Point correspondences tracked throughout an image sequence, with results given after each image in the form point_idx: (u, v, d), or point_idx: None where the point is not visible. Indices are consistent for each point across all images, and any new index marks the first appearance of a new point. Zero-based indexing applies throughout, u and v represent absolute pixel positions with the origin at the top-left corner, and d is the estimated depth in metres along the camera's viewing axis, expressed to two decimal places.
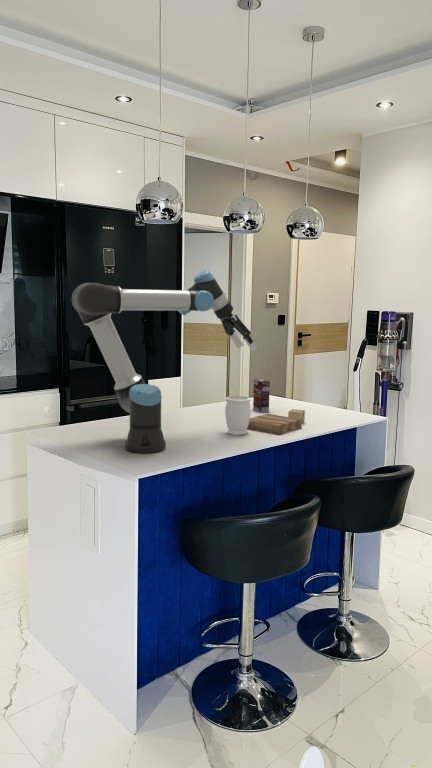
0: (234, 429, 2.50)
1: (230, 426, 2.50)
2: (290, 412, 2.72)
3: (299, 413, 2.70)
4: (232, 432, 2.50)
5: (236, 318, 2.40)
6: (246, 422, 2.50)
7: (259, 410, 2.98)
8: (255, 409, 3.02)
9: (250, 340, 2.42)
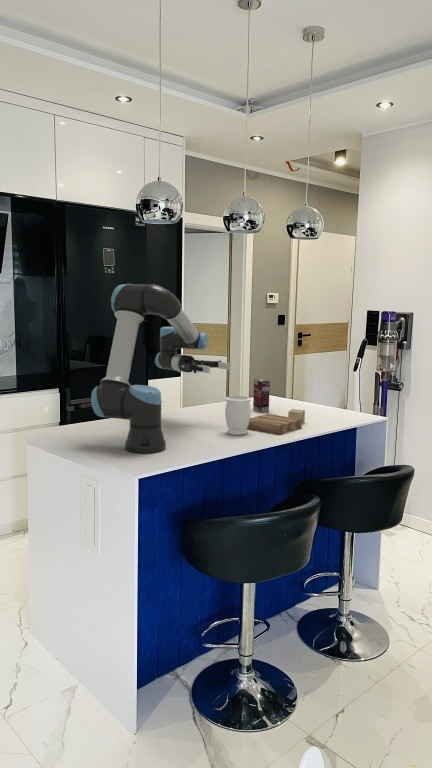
0: (234, 429, 2.50)
1: (230, 426, 2.50)
2: (290, 412, 2.72)
3: (299, 413, 2.70)
4: (232, 432, 2.50)
5: None
6: (246, 422, 2.50)
7: (259, 410, 2.98)
8: (255, 409, 3.02)
9: None
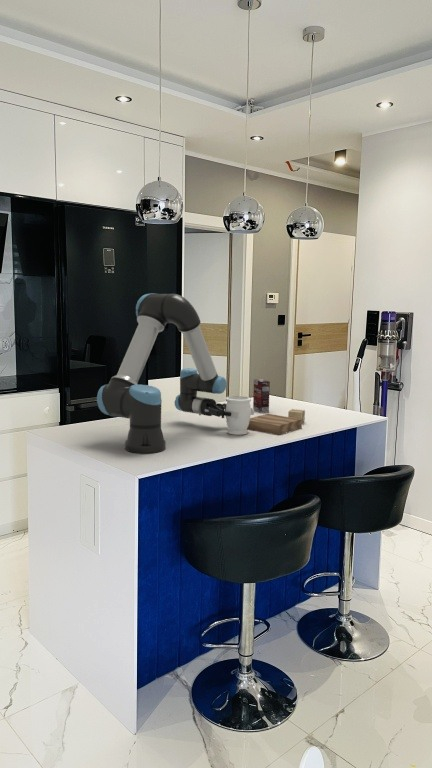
0: (234, 429, 2.50)
1: (230, 426, 2.50)
2: (290, 412, 2.72)
3: (299, 413, 2.70)
4: (232, 432, 2.50)
5: None
6: (246, 422, 2.50)
7: (259, 410, 2.98)
8: (255, 409, 3.02)
9: None
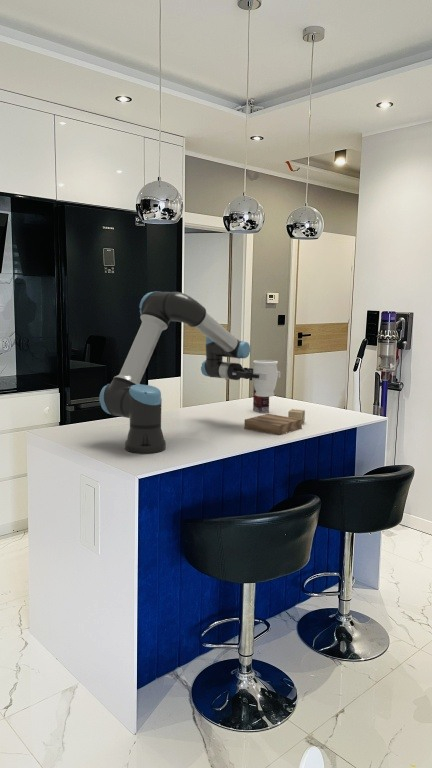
0: (261, 391, 2.56)
1: (258, 388, 2.56)
2: (290, 412, 2.72)
3: (299, 413, 2.70)
4: (260, 394, 2.56)
5: None
6: (273, 384, 2.56)
7: (259, 410, 2.98)
8: (255, 409, 3.02)
9: None
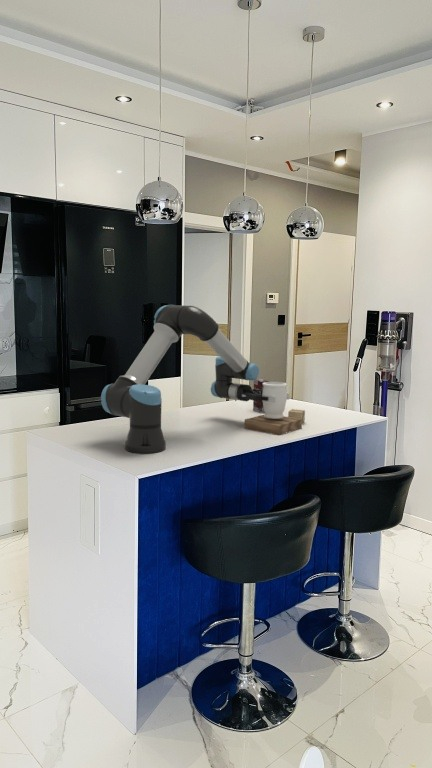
0: (271, 413, 2.59)
1: (267, 410, 2.59)
2: (290, 412, 2.72)
3: (299, 413, 2.70)
4: (269, 416, 2.60)
5: None
6: (283, 406, 2.59)
7: (259, 410, 2.98)
8: (255, 409, 3.02)
9: None
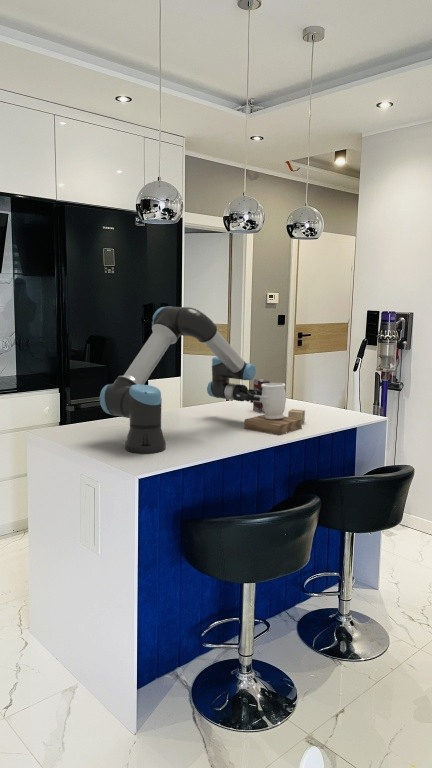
0: (271, 414, 2.61)
1: (268, 411, 2.62)
2: (290, 412, 2.72)
3: (299, 413, 2.70)
4: (270, 417, 2.62)
5: None
6: (283, 406, 2.62)
7: (259, 410, 2.98)
8: (255, 409, 3.02)
9: None
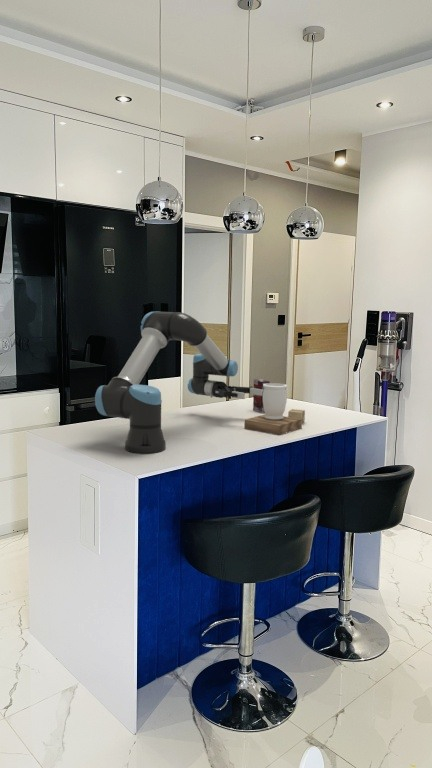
0: (272, 414, 2.62)
1: (269, 411, 2.62)
2: (290, 412, 2.72)
3: (299, 413, 2.70)
4: (270, 417, 2.62)
5: None
6: (284, 407, 2.62)
7: (259, 410, 2.98)
8: (255, 409, 3.02)
9: None
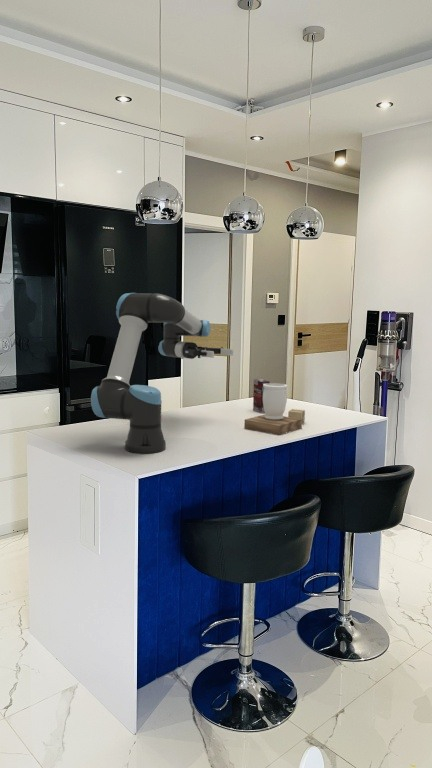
0: (272, 414, 2.62)
1: (269, 411, 2.62)
2: (290, 412, 2.72)
3: (299, 413, 2.70)
4: (270, 417, 2.62)
5: None
6: (284, 407, 2.62)
7: (259, 410, 2.98)
8: (255, 409, 3.02)
9: None
